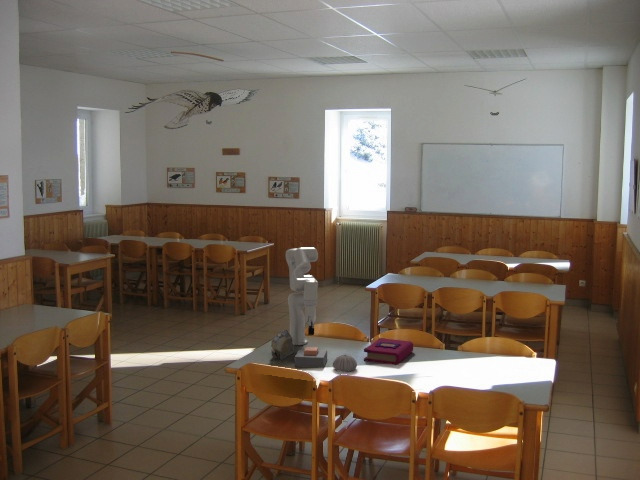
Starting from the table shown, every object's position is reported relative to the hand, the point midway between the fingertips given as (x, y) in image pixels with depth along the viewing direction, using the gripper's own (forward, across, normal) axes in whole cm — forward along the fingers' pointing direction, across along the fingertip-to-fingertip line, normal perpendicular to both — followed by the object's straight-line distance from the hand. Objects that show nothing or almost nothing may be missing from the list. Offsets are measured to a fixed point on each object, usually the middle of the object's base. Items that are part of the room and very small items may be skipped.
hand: (311, 334), depth 373 cm
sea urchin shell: (+17, +9, +20) cm, 28 cm away
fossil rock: (+16, -12, -20) cm, 28 cm away
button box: (+16, -1, 0) cm, 16 cm away
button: (+11, -1, 0) cm, 11 cm away
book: (+17, -18, +42) cm, 49 cm away
